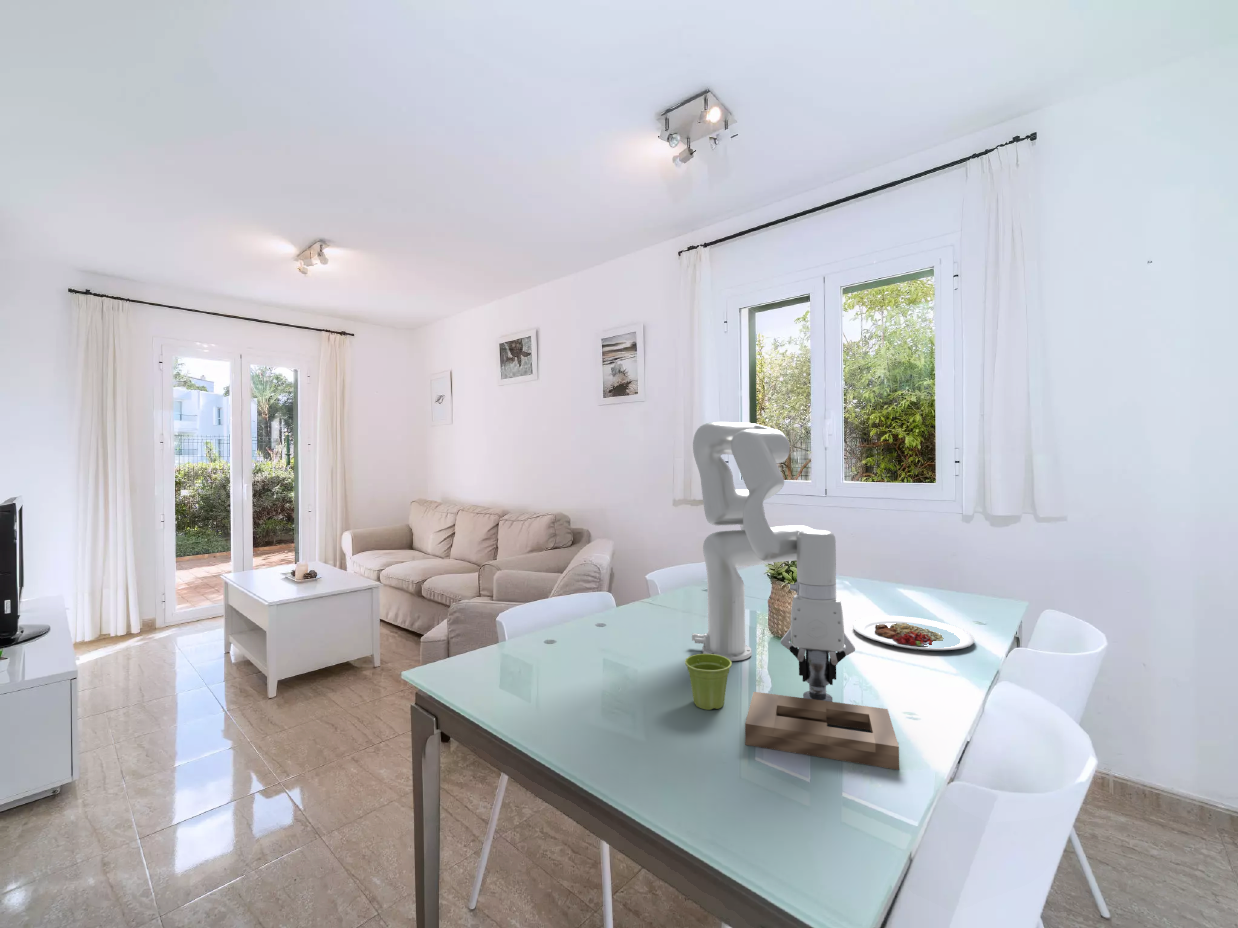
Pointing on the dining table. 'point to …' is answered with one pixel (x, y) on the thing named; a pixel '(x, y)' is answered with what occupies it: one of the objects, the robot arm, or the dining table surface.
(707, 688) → the plant pot
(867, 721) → the keyhole plate
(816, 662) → the peg
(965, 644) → the plated food
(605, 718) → the dining table surface
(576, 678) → the dining table surface
